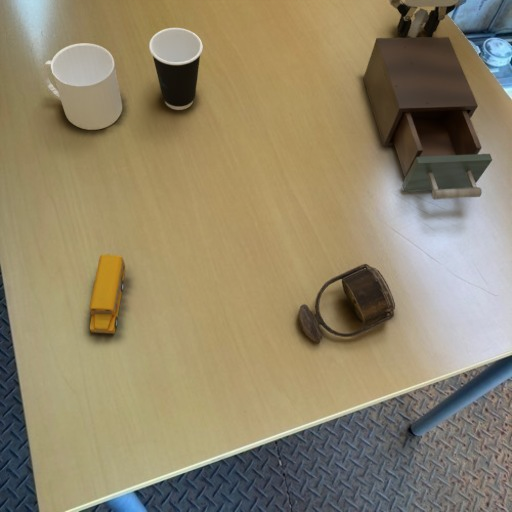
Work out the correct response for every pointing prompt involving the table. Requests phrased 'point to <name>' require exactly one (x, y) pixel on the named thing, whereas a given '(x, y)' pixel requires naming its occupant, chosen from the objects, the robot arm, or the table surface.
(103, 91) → the mug
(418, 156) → the drawer
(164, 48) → the dixie cup
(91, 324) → the toy bus
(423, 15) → the wristwatch
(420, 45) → the cabinet
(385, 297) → the mechanical counter
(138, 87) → the table surface
